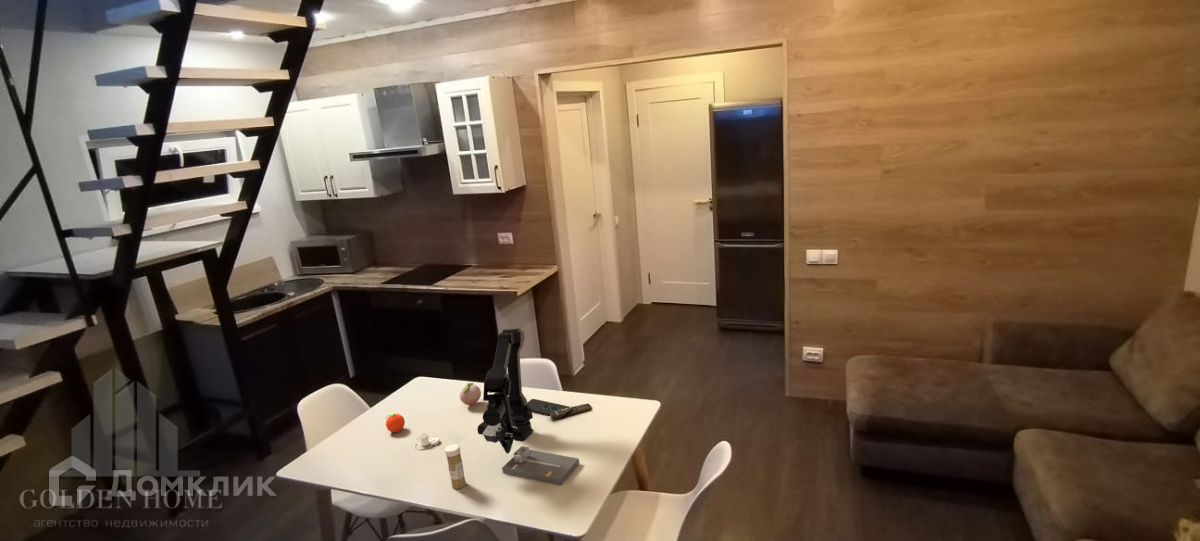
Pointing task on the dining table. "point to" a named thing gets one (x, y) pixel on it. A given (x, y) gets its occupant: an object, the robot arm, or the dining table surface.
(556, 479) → the board
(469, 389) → the decorative fruit
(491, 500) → the dining table surface
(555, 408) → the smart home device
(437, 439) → the white charger with cable
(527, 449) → the fader tab
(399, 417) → the clementine
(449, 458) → the sprinkles bottle
